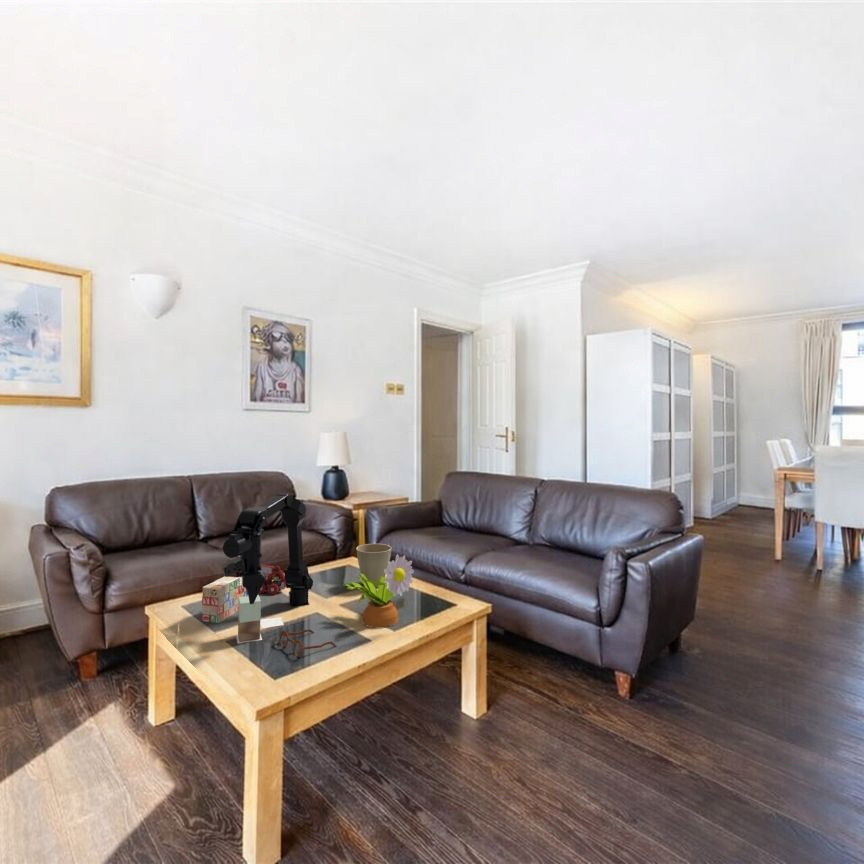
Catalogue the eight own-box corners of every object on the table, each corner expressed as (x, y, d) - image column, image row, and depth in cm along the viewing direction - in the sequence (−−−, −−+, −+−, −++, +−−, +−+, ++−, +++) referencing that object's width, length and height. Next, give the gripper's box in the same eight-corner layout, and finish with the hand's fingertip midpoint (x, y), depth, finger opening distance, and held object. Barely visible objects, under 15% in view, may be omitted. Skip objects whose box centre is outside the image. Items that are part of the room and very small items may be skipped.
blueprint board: (284, 617, 173) (284, 616, 173) (294, 639, 156) (294, 638, 156) (222, 626, 164) (222, 625, 164) (225, 649, 147) (225, 648, 147)
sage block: (258, 613, 160) (258, 594, 160) (260, 620, 154) (260, 601, 154) (238, 615, 157) (238, 597, 157) (239, 622, 152) (240, 603, 152)
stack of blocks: (238, 600, 188) (239, 568, 187) (253, 602, 186) (254, 570, 186) (201, 622, 167) (202, 586, 167) (217, 624, 165) (218, 588, 165)
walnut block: (257, 631, 160) (258, 613, 160) (259, 639, 154) (260, 620, 154) (237, 634, 157) (238, 615, 157) (239, 642, 152) (239, 623, 152)
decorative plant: (374, 640, 157) (376, 562, 156) (328, 618, 173) (330, 547, 173) (431, 617, 176) (433, 548, 176) (385, 600, 193) (387, 536, 192)
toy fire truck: (281, 595, 195) (281, 569, 194) (251, 593, 196) (252, 567, 196) (288, 589, 201) (289, 564, 201) (260, 587, 203) (260, 562, 203)
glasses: (278, 646, 152) (278, 630, 152) (315, 634, 161) (315, 619, 161) (300, 661, 143) (300, 644, 143) (337, 647, 152) (338, 631, 152)
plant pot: (376, 577, 221) (377, 541, 220) (397, 586, 210) (398, 548, 209) (348, 583, 211) (349, 546, 210) (368, 593, 200) (369, 554, 199)
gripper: (222, 544, 160) (221, 592, 161) (225, 559, 144) (224, 613, 144) (258, 542, 165) (257, 588, 165) (265, 556, 148) (264, 608, 149)
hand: (250, 599), depth 156 cm, fingers open, 9 cm apart
